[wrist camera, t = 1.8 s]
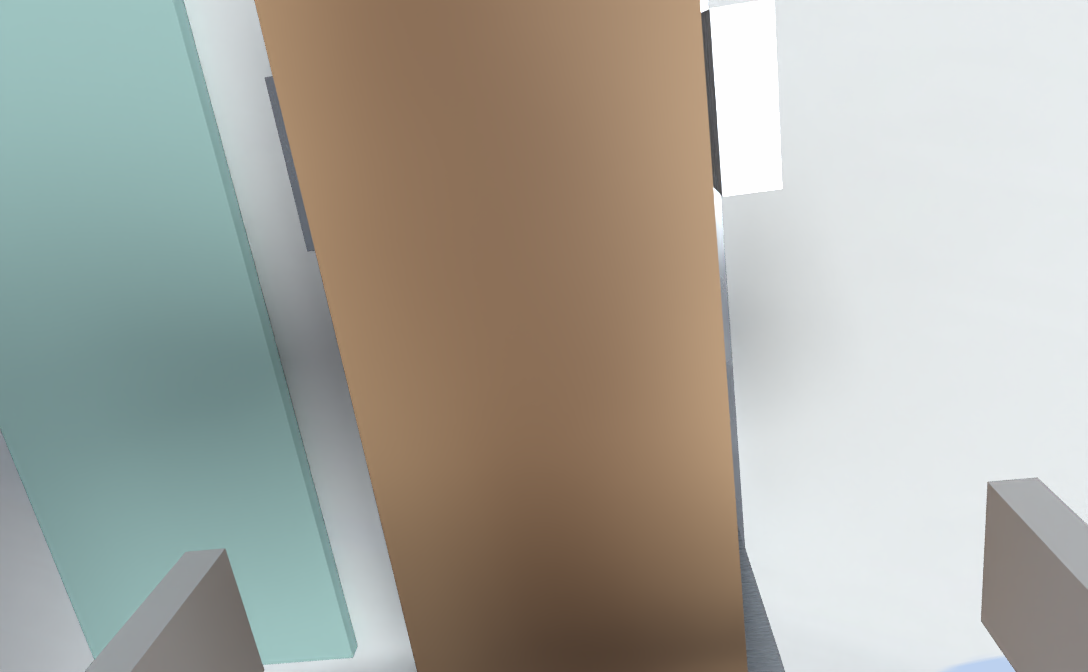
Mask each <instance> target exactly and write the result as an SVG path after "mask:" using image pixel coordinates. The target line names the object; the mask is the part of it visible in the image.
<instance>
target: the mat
mask: <svg viewBox="0 0 1088 672" xmlns="http://www.w3.org/2000/svg"><path fill="white" fill-rule="evenodd" d="M0 429H1V432H2V434H3V436H4V439H5V441H6V444H7V446H8V449H9V451H10V454H11V456H12V459H13V461H14V463H15V466H16V468H17V471H18V473H19V476H20V478H21V481H22V483H23V486H24V488H25V490H26V493H27V495H28V498H29V500H30V503H31V505H32V508H33V510H34V513H35V515H36V517H37V520H38V522H39V525H40V527H41V530H42V532H43V535H44V537H45V540H46V542H47V544H48V547H49V549H50V552H51V554H52V557H53V559H54V562H55V564H56V567H57V569H58V571H59V574H60V576H61V579H62V581H63V584H64V586H65V589H66V591H67V594H68V596H69V598H70V601H71V603H72V606H73V608H74V611H75V613H76V616H77V618H78V621H79V623H80V625H81V628H82V630H83V633H84V635H85V638H86V640H87V643H88V645H89V648H90V650H91V652H92V655H93V657H94V660H95V659H96V658H97V656H98V655H99V654H100V653H101V652H102V650H103V649H104V648H105V647H106V646H107V644H108V643H109V642H110V641H111V640H112V639H113V637H114V636H115V635H116V634H117V633H118V631H119V630H120V629H121V628H122V627H123V625H124V624H125V623H126V622H127V621H128V620H129V618H130V617H131V616H132V615H133V614H134V612H135V611H136V610H137V609H138V608H139V606H140V605H141V604H142V603H143V602H144V601H145V599H146V598H147V597H148V596H149V595H150V593H151V592H152V591H153V590H154V589H155V587H156V586H157V585H158V584H159V583H160V582H161V580H162V579H163V578H164V577H165V576H166V574H167V573H168V572H169V571H170V570H171V568H172V567H173V566H174V565H175V564H176V563H177V561H178V560H179V559H180V558H181V557H182V555H183V554H184V553H185V552H189V551H200V550H212V549H223V548H225V549H226V552H227V555H228V558H229V561H230V564H231V568H232V571H233V574H234V577H235V580H236V583H237V586H238V589H239V592H240V596H241V599H242V602H243V605H244V608H245V611H246V614H247V617H248V621H249V624H250V627H251V630H252V633H253V636H254V639H255V642H256V645H257V649H258V652H259V655H260V658H261V661H262V664H263V665H266V664H279V663H291V662H304V661H317V660H329V659H342V658H353V656H354V654H355V651H356V649H357V643H356V639H355V635H354V632H353V628H352V624H351V620H350V617H349V613H348V609H347V606H346V602H345V598H344V595H343V591H342V587H341V583H340V580H339V576H338V572H337V569H336V565H335V561H334V557H333V554H332V550H331V546H330V543H329V539H328V535H327V532H326V528H325V524H324V520H323V517H322V513H321V509H320V506H319V502H318V498H317V495H316V491H315V487H314V483H313V480H312V476H311V472H310V469H309V465H308V461H307V457H306V454H305V450H304V446H303V443H302V439H301V435H300V432H299V428H298V424H297V420H296V417H295V413H294V409H293V406H292V402H291V398H290V395H289V391H288V387H287V383H286V380H285V376H284V372H283V369H282V365H281V361H280V357H279V354H278V350H277V346H276V343H275V339H274V335H273V332H272V328H271V324H270V320H269V317H268V313H267V309H266V306H265V302H264V298H263V295H262V291H261V287H260V283H259V280H258V276H257V272H256V269H255V265H254V261H253V258H252V254H251V250H250V246H249V243H248V239H247V235H246V232H245V228H244V224H243V220H242V217H241V213H240V209H239V206H238V202H237V198H236V195H235V191H234V187H233V183H232V180H231V176H230V172H229V169H228V165H227V161H226V158H225V154H224V150H223V146H222V143H221V139H220V135H219V132H218V128H217V124H216V120H215V117H214V113H213V109H212V106H211V102H210V98H209V95H208V91H207V87H206V83H205V80H204V76H203V72H202V69H201V65H200V61H199V58H198V54H197V50H196V46H195V43H194V39H193V35H192V32H191V28H190V24H189V20H188V17H187V13H186V9H185V6H184V2H183V0H0Z"/></svg>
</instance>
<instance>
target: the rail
mask: <svg viewBox="0 0 1088 672" xmlns="http://www.w3.org/2000/svg"><path fill="white" fill-rule="evenodd" d="M254 1H255V5H256V9H257V13H258V17H259V21H260V25H261V30H262V34H263V38H264V42H265V46H266V50H267V54H268V58H269V63H270V67H271V71H272V75H273V79H274V83H275V87H276V91H277V96H278V100H279V104H280V108H281V112H282V116H283V120H284V124H285V129H286V133H287V137H288V141H289V145H290V149H291V153H292V157H293V161H294V166H295V170H296V174H297V178H298V182H299V186H300V190H301V194H302V199H303V203H304V207H305V211H306V215H307V219H308V223H309V227H310V232H311V236H312V240H313V244H314V248H315V252H316V256H317V260H318V265H319V269H320V273H321V277H322V281H323V285H324V289H325V293H326V298H327V302H328V306H329V310H330V314H331V318H332V322H333V326H334V331H335V335H336V339H337V343H338V347H339V351H340V355H341V359H342V363H343V368H344V372H345V376H346V380H347V384H348V388H349V392H350V396H351V401H352V405H353V409H354V413H355V417H356V421H357V425H358V429H359V434H360V438H361V442H362V446H363V450H364V454H365V458H366V462H367V467H368V471H369V475H370V479H371V483H372V487H373V491H374V495H375V500H376V504H377V508H378V512H379V516H380V520H381V524H382V528H383V533H384V537H385V541H386V545H387V549H388V553H389V557H390V561H391V565H392V570H393V574H394V578H395V582H396V586H397V590H398V594H399V598H400V603H401V607H402V611H403V615H404V619H405V623H406V627H407V631H408V636H409V640H410V644H411V648H412V652H413V656H414V660H415V664H416V669H417V672H748V667H747V653H746V639H745V625H744V611H743V597H742V583H741V569H740V555H739V541H738V527H737V512H736V498H735V484H734V470H733V456H732V442H731V428H730V414H729V400H728V386H727V372H726V358H725V344H724V330H723V316H722V302H721V288H720V274H719V260H718V245H717V231H716V217H715V203H714V189H713V175H712V161H711V147H710V133H709V119H708V105H707V91H706V77H705V63H704V49H703V35H702V21H701V7H700V0H254Z"/></svg>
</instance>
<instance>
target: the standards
mask: <svg viewBox="0 0 1088 672" xmlns="http://www.w3.org/2000/svg"><path fill="white" fill-rule="evenodd" d="M700 7H701V21H702V35H703V49H704V63H705V77H706V91H707V105H708V119H709V133H710V147H711V161H712V175H713V189H714V203H715V217H716V231H717V245H718V260H719V274H720V288H721V302H722V316H723V330H724V344H725V358H726V372H727V386H728V400H729V414H730V428H731V442H732V456H733V470H734V484H735V498H736V512H737V527H738V541H739V555H740V569H741V583H742V597H743V611H744V625H745V639H746V653H747V667H748V672H785V670H784V667H783V664H782V660H781V657H780V654H779V651H778V648H777V645H776V642H775V639H774V636H773V633H772V630H771V627H770V623H769V620H768V617H767V614H766V611H765V608H764V605H763V602H762V599H761V596H760V593H759V590H758V586H757V583H756V580H755V577H754V574H753V571H752V568H751V565H750V562H749V559H748V556H747V553H746V549H745V541H744V527H743V512H742V498H741V483H740V468H739V454H738V439H737V424H736V410H735V395H734V380H733V366H732V351H731V336H730V322H729V307H728V292H727V278H726V263H725V249H724V234H723V219H722V205H721V196H722V197H724V196H732V195H739V194H747V193H754V192H762V191H770V190H777V189H782V173H781V149H780V126H779V103H778V79H777V56H776V32H775V9H774V0H762V1H756V2H749V3H743V4H737V5H730V6H724V7H717V8H711V9H708V0H700ZM265 81H266V85H267V89H268V93H269V97H270V101H271V105H272V109H273V113H274V117H275V121H276V126H277V130H278V134H279V138H280V142H281V146H282V150H283V154H284V158H285V162H286V166H287V170H288V174H289V178H290V182H291V187H292V191H293V195H294V199H295V203H296V207H297V211H298V215H299V219H300V223H301V227H302V231H303V235H304V239H305V243H306V248H307V251H314V250H315V248H314V244H313V240H312V236H311V232H310V227H309V223H308V219H307V215H306V211H305V207H304V203H303V199H302V194H301V190H300V186H299V182H298V178H297V174H296V170H295V166H294V161H293V157H292V153H291V149H290V145H289V141H288V137H287V133H286V129H285V124H284V120H283V116H282V112H281V108H280V104H279V100H278V96H277V91H276V87H275V83H274V79H273V76H272V77H266V78H265Z"/></svg>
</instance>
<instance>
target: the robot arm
mask: <svg viewBox="0 0 1088 672" xmlns="http://www.w3.org/2000/svg"><path fill="white" fill-rule="evenodd" d="M981 622H982V623H983V625H984V626H985V628H986V629H987V630H988V632H989V633H990V635H991V636H992V638H993V639H994V641H995V642H996V644H997V645H998V647H999V648H1000V649H1001V651H1002V652H1003V654H1004V655H1005V657H1006V658H1007V660H1008V661H1009V663H1010V664H1011V665H1012V667H1013V668H1014V670H1015V671H1016V672H1088V525H1087V524H1086V523H1085V522H1084V521H1083V520H1082V519H1081V518H1080V517H1079V516H1078V515H1076V514H1075V513H1074V512H1073V511H1072V510H1071V509H1070V508H1069V507H1068V506H1067V505H1066V504H1065V503H1064V502H1063V501H1062V500H1061V499H1060V498H1059V497H1057V496H1056V495H1055V494H1054V493H1053V492H1052V491H1051V490H1050V489H1049V488H1048V487H1047V486H1046V485H1045V484H1044V483H1043V482H1042V481H1041V480H1039V479H1038V478H1026V479H1015V480H1003V481H992V482H988V484H987V505H986V526H985V547H984V568H983V589H982V609H981ZM85 672H264V667H263V664H262V661H261V658H260V655H259V652H258V649H257V645H256V642H255V639H254V636H253V633H252V630H251V627H250V624H249V621H248V617H247V614H246V611H245V608H244V605H243V602H242V599H241V596H240V592H239V589H238V586H237V583H236V580H235V577H234V574H233V571H232V568H231V564H230V561H229V558H228V555H227V552H226V549H225V548H223V549H212V550H200V551H189V552H185V553H184V554H183V555H182V557H181V558H180V559H179V560H178V561H177V563H176V564H175V565H174V566H173V567H172V568H171V570H170V571H169V572H168V573H167V574H166V576H165V577H164V578H163V579H162V580H161V582H160V583H159V584H158V585H157V586H156V587H155V589H154V590H153V591H152V592H151V593H150V595H149V596H148V597H147V598H146V599H145V601H144V602H143V603H142V604H141V605H140V606H139V608H138V609H137V610H136V611H135V612H134V614H133V615H132V616H131V617H130V618H129V620H128V621H127V622H126V623H125V624H124V625H123V627H122V628H121V629H120V630H119V631H118V633H117V634H116V635H115V636H114V637H113V639H112V640H111V641H110V642H109V643H108V644H107V646H106V647H105V648H104V649H103V650H102V652H101V653H100V654H99V655H98V656H97V658H96V659H95V660H94V661H93V662H92V663H91V665H90V666H89V667H88V668H87V669H86V671H85Z"/></svg>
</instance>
